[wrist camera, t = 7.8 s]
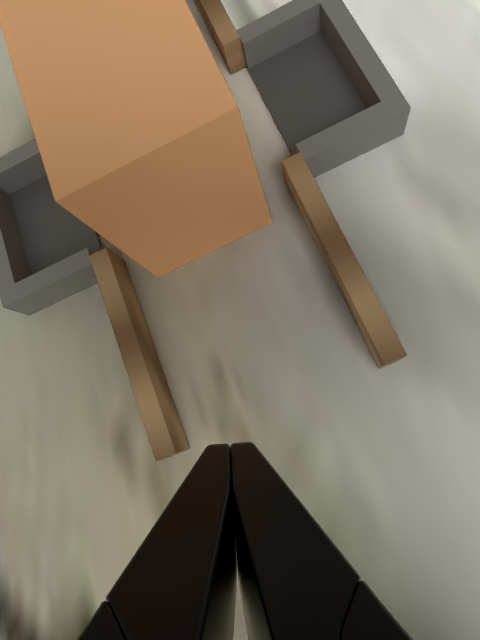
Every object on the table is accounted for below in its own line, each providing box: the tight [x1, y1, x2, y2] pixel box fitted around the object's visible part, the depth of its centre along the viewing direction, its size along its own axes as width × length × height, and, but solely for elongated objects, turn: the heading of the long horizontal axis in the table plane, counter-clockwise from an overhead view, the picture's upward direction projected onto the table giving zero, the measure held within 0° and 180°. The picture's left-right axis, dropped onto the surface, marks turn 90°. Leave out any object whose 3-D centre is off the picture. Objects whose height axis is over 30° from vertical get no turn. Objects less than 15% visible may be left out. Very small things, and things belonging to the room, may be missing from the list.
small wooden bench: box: [90, 0, 407, 461], centre depth 21 cm, size 27×12×4 cm, turn 22°
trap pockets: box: [0, 0, 411, 315], centre depth 23 cm, size 9×23×2 cm, turn 112°
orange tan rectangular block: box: [0, 0, 273, 278], centre depth 20 cm, size 15×7×9 cm, turn 22°
